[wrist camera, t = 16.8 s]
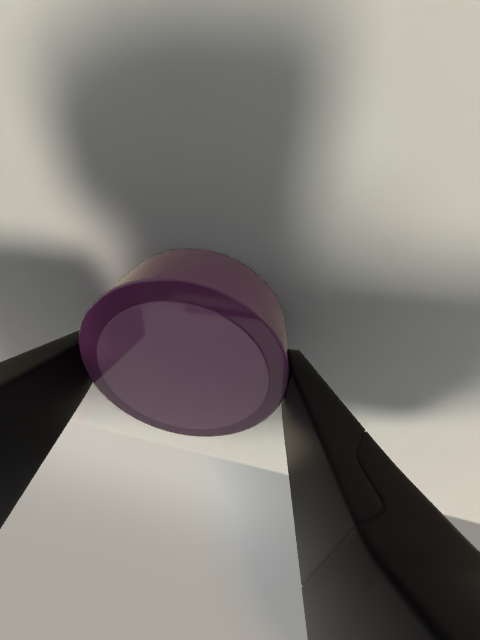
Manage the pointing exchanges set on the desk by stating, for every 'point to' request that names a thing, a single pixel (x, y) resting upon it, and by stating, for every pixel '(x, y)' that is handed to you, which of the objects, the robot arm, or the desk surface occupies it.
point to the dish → (189, 344)
